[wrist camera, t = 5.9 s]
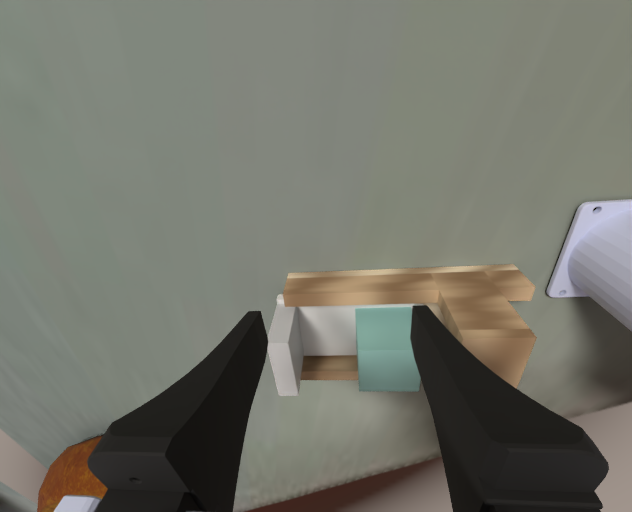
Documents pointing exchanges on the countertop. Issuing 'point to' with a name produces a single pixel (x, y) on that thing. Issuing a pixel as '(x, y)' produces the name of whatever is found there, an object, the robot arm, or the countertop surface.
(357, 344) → the block
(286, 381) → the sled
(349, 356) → the wooden frame
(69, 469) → the bread
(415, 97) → the countertop surface
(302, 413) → the countertop surface
